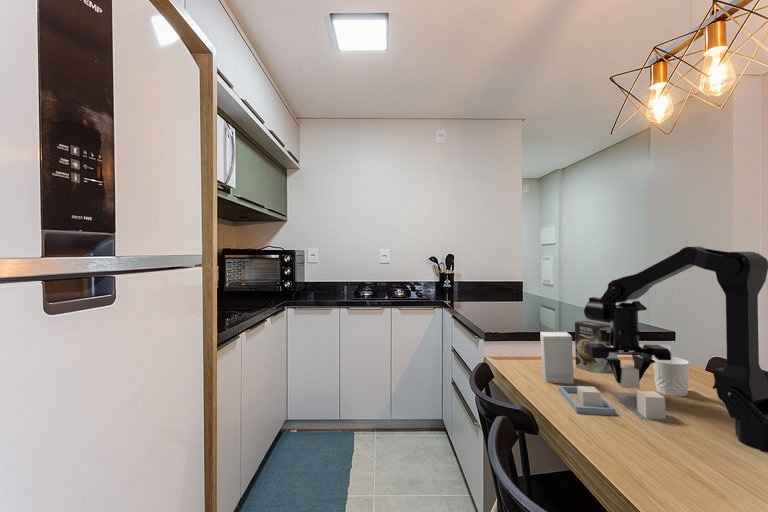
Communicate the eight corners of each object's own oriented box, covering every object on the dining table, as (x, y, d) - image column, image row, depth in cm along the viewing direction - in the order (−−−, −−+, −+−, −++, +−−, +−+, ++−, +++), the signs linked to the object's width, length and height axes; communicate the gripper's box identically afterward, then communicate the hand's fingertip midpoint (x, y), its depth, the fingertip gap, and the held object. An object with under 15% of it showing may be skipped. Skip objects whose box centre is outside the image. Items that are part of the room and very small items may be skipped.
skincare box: (569, 380, 110) (568, 331, 110) (575, 388, 104) (573, 336, 104) (541, 378, 112) (539, 330, 113) (544, 386, 106) (543, 335, 106)
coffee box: (574, 367, 123) (573, 322, 124) (586, 364, 126) (585, 320, 126) (600, 374, 115) (598, 326, 115) (612, 371, 118) (610, 324, 118)
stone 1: (601, 412, 86) (600, 392, 86) (583, 411, 87) (582, 391, 87) (594, 406, 90) (594, 386, 90) (577, 405, 91) (577, 386, 91)
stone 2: (639, 388, 91) (638, 369, 91) (622, 387, 92) (622, 369, 92) (631, 383, 95) (631, 365, 95) (615, 382, 96) (615, 364, 96)
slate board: (676, 427, 79) (675, 421, 79) (641, 424, 80) (641, 419, 80) (637, 397, 96) (636, 393, 96) (609, 396, 97) (608, 392, 97)
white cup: (697, 402, 92) (696, 364, 92) (663, 400, 94) (662, 363, 94) (678, 391, 100) (677, 356, 100) (647, 389, 101) (646, 355, 102)
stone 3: (665, 419, 80) (665, 397, 80) (646, 418, 81) (645, 396, 81) (655, 411, 84) (655, 391, 84) (637, 410, 85) (636, 390, 85)
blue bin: (615, 420, 83) (615, 409, 83) (576, 417, 85) (576, 407, 85) (591, 396, 97) (591, 387, 97) (558, 394, 99) (558, 385, 99)
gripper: (647, 320, 100) (649, 374, 100) (577, 320, 104) (579, 372, 103) (671, 328, 89) (673, 389, 89) (592, 327, 93) (594, 385, 92)
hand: (627, 383), depth 94 cm, fingers closed on stone 2, 4 cm apart
